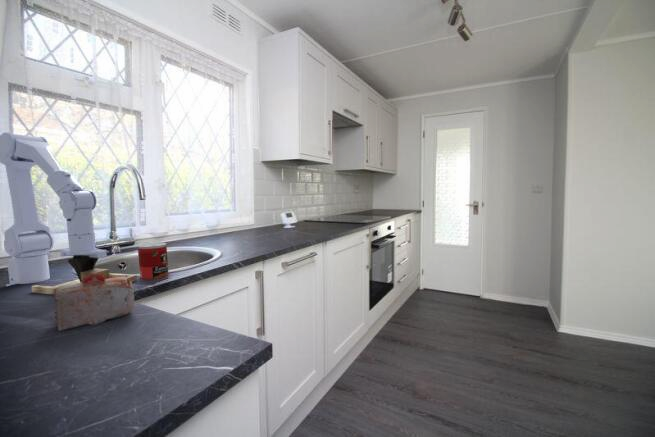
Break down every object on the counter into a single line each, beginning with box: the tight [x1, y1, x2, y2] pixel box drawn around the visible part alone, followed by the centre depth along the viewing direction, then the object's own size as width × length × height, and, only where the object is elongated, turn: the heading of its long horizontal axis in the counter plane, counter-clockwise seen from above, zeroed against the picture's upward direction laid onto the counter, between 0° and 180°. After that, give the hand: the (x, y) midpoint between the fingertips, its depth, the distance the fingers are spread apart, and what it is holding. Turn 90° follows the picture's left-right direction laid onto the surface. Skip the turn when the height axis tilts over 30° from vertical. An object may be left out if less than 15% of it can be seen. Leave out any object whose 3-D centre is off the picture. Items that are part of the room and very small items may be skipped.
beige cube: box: [81, 267, 110, 282], centre depth 88 cm, size 4×4×4 cm
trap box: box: [31, 272, 138, 295], centre depth 89 cm, size 19×15×3 cm
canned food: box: [137, 241, 169, 283], centre depth 98 cm, size 8×8×11 cm
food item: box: [53, 275, 135, 332], centre depth 68 cm, size 14×8×10 cm, turn 132°
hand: (85, 282), depth 89 cm, fingers closed
